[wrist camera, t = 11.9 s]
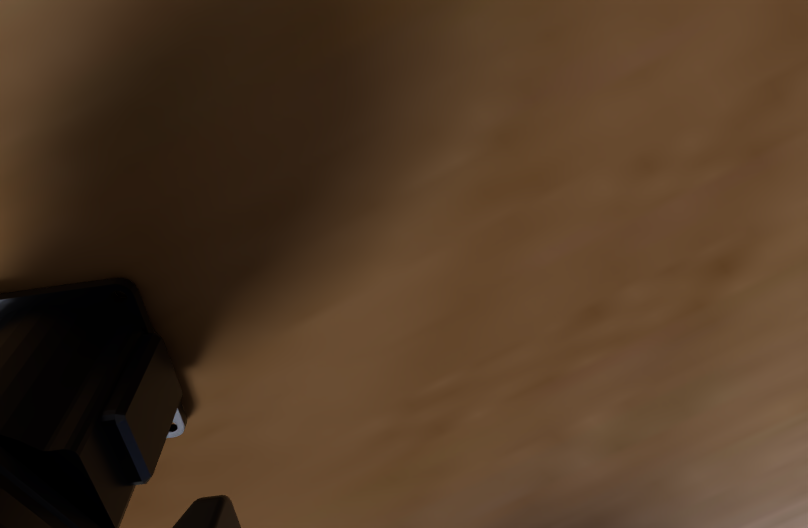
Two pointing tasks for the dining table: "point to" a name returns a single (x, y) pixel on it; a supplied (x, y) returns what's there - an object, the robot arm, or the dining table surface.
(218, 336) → the dining table surface
